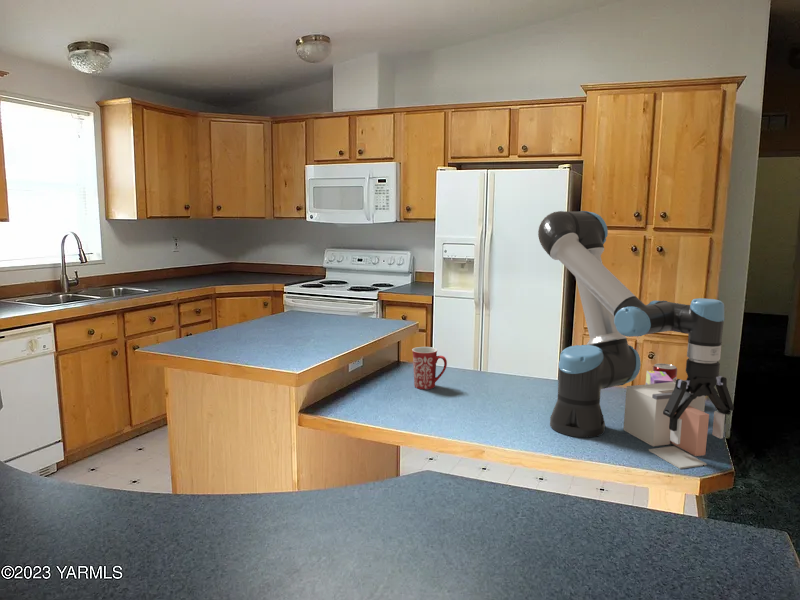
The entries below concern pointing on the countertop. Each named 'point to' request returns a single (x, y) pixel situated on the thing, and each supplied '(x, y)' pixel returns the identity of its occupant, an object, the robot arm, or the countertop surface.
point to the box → (657, 377)
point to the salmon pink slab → (693, 431)
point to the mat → (677, 457)
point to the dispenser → (651, 412)
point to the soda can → (667, 370)
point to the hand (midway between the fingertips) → (696, 439)
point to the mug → (426, 367)
